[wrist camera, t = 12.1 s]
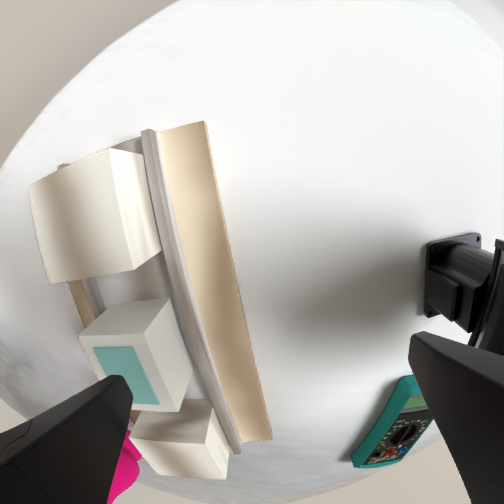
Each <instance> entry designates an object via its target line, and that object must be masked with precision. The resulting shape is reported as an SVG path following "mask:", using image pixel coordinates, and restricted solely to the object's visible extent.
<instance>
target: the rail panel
mask: <svg viewBox="0 0 504 504" xmlns="http://www.w3.org/2000/svg"><path fill="white" fill-rule="evenodd" d="M28 190H29V197H30V204H31V210H32V215H33V221H34V226H35V230H36V235H37V239H38V244H39V248H40V252H41V255H42V259H43V263H44V266H45V270H46V273H47V276H48V280H49V283H50V285H51V284H57V283H63V282H68V283H69V286H70V289H71V292H72V295H73V298H74V301H75V303H76V306H77V309H78V311H79V314H80V317H81V319H82V322H83V324H84V327H85V329H86V328H87V327H88V326H89V325H90V324H91V323H92V322H93V321H94V320H95V319H97V318H98V317H99V316H100V315H101V314H102V313H103V312H104V311H106V310H107V309H108V308H109V307H110V306H111V305H112V304H118V303H127V302H135V301H144V300H152V299H159V298H167V297H171V299H172V302H173V305H174V309H175V312H176V315H177V318H178V321H179V325H180V328H181V331H182V334H183V337H184V340H185V343H186V345H187V348H188V351H189V354H190V357H191V360H192V362H193V365H194V369H193V372H192V375H191V378H190V381H189V384H188V386H187V389H186V392H185V395H184V398H183V401H182V404H181V407H180V410H179V412H159V411H142V410H131V413H130V416H131V417H132V419H133V420H134V422H135V425H134V427H133V429H132V431H131V433H130V435H129V437H128V438H129V439H130V440H131V442H132V443H133V444H134V446H135V447H136V448H137V449H138V451H139V452H140V453H141V455H142V456H143V457H144V458H145V459H146V461H147V462H148V463H149V464H150V465H151V467H152V468H153V469H154V470H155V471H156V472H157V474H160V475H167V476H176V477H186V478H200V479H226V474H227V465H228V457H229V449H230V447H231V448H232V450H233V452H234V454H240V453H241V446H242V442H251V441H263V440H272V431H271V427H270V423H269V419H268V414H267V410H266V406H265V402H264V398H263V394H262V390H261V385H260V381H259V377H258V373H257V368H256V364H255V360H254V355H253V351H252V347H251V342H250V338H249V333H248V329H247V324H246V320H245V315H244V311H243V306H242V301H241V297H240V292H239V288H238V283H237V278H236V273H235V269H234V264H233V259H232V254H231V249H230V244H229V240H228V235H227V230H226V225H225V220H224V215H223V210H222V204H221V199H220V194H219V189H218V184H217V179H216V173H215V168H214V163H213V157H212V152H211V146H210V141H209V135H208V130H207V124H206V123H205V122H204V121H200V122H196V123H192V124H188V125H184V126H181V127H177V128H174V129H170V130H167V131H163V132H158V131H153V130H151V129H147V130H144V131H141V136H140V137H137V138H134V139H131V140H128V141H126V142H123V143H120V144H117V145H115V146H112V147H110V148H107V149H105V150H102V151H100V152H97V153H95V154H93V155H90V156H88V157H86V158H83V159H81V160H79V161H77V162H74V163H72V164H61V165H59V166H58V171H56V172H54V173H52V174H50V175H48V176H46V177H44V178H42V179H40V180H39V181H37V182H35V183H33V184H31V185H30V186H28Z"/></svg>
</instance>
